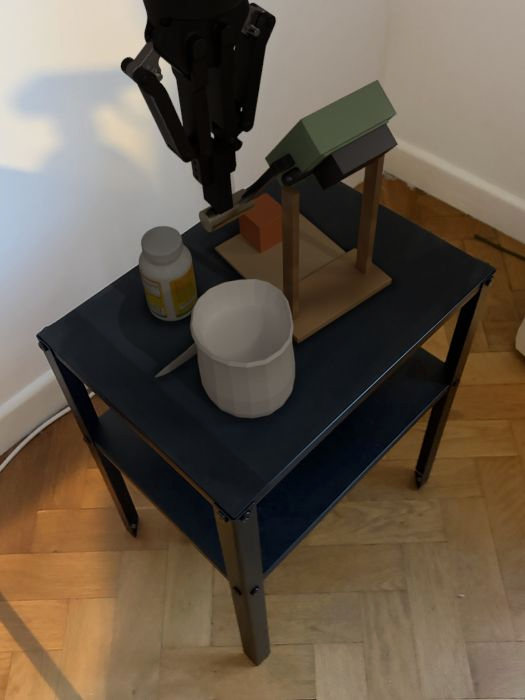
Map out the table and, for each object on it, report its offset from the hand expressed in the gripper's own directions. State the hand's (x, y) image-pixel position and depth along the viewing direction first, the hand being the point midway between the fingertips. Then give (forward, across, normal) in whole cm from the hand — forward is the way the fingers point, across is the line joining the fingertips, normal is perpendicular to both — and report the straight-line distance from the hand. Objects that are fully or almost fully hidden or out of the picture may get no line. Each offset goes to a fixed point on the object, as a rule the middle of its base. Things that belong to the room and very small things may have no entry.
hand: (218, 203), depth 68 cm
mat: (+13, -8, -2) cm, 16 cm away
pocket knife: (+14, +6, +4) cm, 15 cm away
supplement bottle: (+14, +5, -3) cm, 15 cm away
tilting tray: (-2, -6, +7) cm, 9 cm away
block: (+11, -8, -7) cm, 15 cm away
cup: (+14, +5, +10) cm, 18 cm away
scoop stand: (+13, -8, +7) cm, 17 cm away
